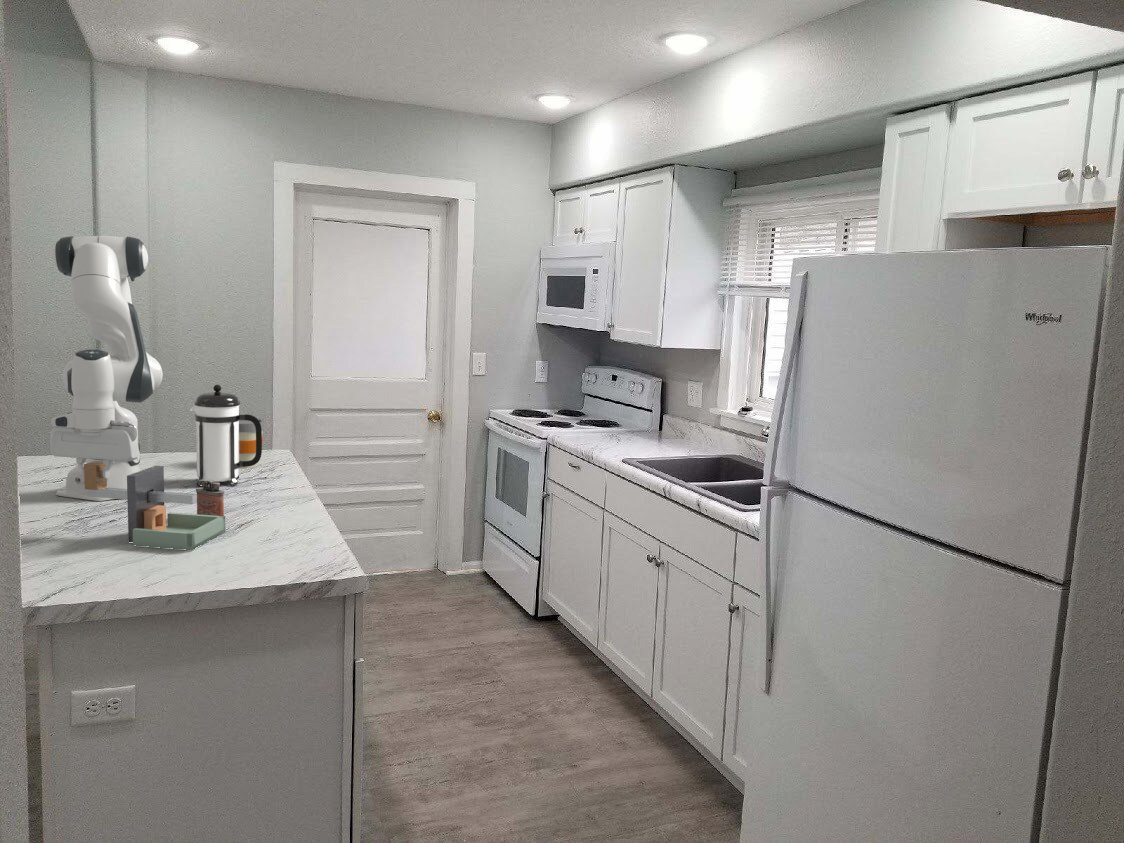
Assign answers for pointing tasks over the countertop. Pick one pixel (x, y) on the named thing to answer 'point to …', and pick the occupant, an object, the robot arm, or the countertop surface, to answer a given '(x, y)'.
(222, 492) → the lighter
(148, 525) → the collar
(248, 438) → the reusable coffee cup
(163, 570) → the countertop surface
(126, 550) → the countertop surface
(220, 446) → the coffee press
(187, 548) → the tray
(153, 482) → the bearing plate
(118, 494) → the shaft
